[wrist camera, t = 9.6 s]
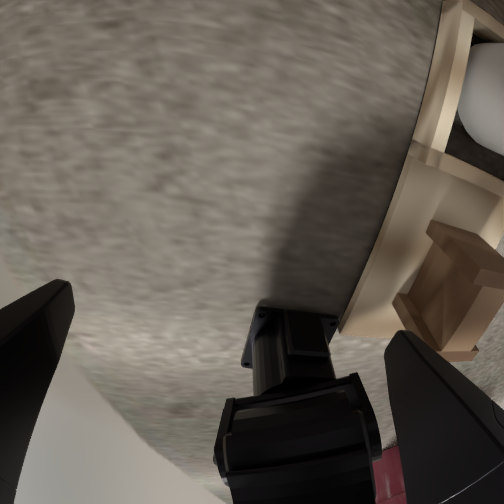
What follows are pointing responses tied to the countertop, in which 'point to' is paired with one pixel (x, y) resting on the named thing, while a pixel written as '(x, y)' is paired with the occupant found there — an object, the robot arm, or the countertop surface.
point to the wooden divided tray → (438, 220)
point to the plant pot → (389, 478)
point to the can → (484, 96)
